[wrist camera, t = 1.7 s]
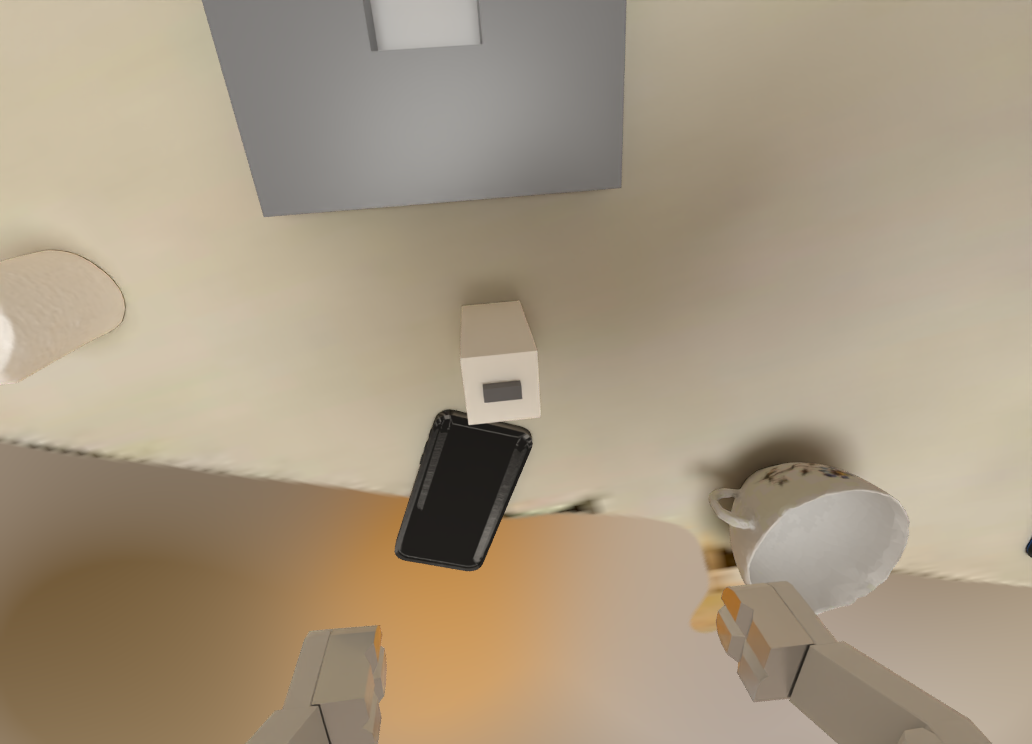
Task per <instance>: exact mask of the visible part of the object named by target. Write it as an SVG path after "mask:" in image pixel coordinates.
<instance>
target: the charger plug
mask: <svg viewBox="0 0 1032 744" xmlns="http://www.w3.org/2000/svg"><path fill="white" fill-rule="evenodd" d="M460 363H461V370H462V378H463V386H464V394H465V401H466V409H467V417H468V424H469V425H474V424H483V423H493V422H502V421H511V420H521V419H530V418H539V417H541V409H540V390H539V371H538V351H537V348H536V345H535V342H534V339H533V337H532V334H531V331H530V328H529V325H528V322H527V320H526V317H525V314H524V311H523V308H522V305H521V303H520V300H518V301H508V302H497V303H486V304H476V305H465V306H462V307H461V340H460Z"/></svg>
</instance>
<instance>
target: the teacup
mask: <svg viewBox="0 0 1032 744" xmlns="http://www.w3.org/2000/svg"><path fill="white" fill-rule="evenodd" d="M729 497H734V498H735V500H734V503H733V506H732V510H731V511H728V510H726V509H724V508H723V507H722V506H721V505H720V504H719V502H718V500H719V499H721V498H729ZM709 502H710V505H711V507H712V508H713V510H714V512H715V513H716V515H717V516H718V518H720V519H721V520H723V521H725V522H726V523H728V524H729V525H730V526H729V531H730V541H731V547H732V551H733V555H734V558H735V561H736V564H737V567H738V569H739V572H740V574H741V577H742V579H743V581H744V583H745V584H746V585H749V584H757V583H770V582H779V581H788V582H789V583H791V584H792V585H793V586H794V587H795V589H796V590H797V591H798V592H799V594H800V595H801V596H802V597H803V599H804V600H805V601H806V602H807V604H808V605H809V606H810V607H811V609H812V610H813V611H814V613H815V614H816V615H817V614H821V613H823V612H825V611H828V610H832V609H835V608H838V607H842V606H849V605H851V604H852V603H854V602H855V601H856V599H857V598H859V597H863V596H866V595H867V594H868V593H870V592H871V591H873V590H875V589H876V587H877V586H878V585H879V584H881V583H883V582H884V581H885V580H886V579H887V578H888V576H889V574H890V572H891V571H892V569H893V568H894V567H895V565H896V564H897V562H898V561H899V559H900V558H901V556H902V553H903V551H904V549H905V547H906V544H907V540H908V536H909V530H908V527H909V523H910V522H909V518H908V516H907V513H906V510H905V509H904V508H903V506H902V505H901V503H900V501H898V500H897V499H896V498H894V497H893V496H891V495H890V494H888V493H887V492H885V491H883V490H882V489H880V488H878V487H877V486H875V485H873V484H871V483H870V482H868V481H866V480H864V479H862V478H860V477H858V476H856V475H854V474H851V473H849V472H846V471H844V470H841V469H838V468H834V467H831V466H826V465H822V464H815V463H804V462H796V463H784V464H780V465H776V466H771V467H767V468H764V469H761V470H758V471H756V472H755V473H754V474H752V475H751V476H750V477H748V478H747V479H746V481H745V482H744V484H743V485H742V487H741V489H738V490H736V489H729V488H720V489H716V490H714V491H713V492H712V493H710V494H709Z"/></svg>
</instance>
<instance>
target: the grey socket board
mask: <svg viewBox="0 0 1032 744" xmlns="http://www.w3.org/2000/svg"><path fill="white" fill-rule="evenodd" d="M202 2H203V6H204V9H205V13H206V16H207V20H208V23H209V27H210V30H211V34H212V37H213V41H214V44H215V48H216V51H217V55H218V58H219V62H220V65H221V69H222V72H223V76H224V79H225V83H226V86H227V90H228V93H229V97H230V100H231V104H232V107H233V111H234V114H235V118H236V121H237V125H238V128H239V132H240V135H241V139H242V142H243V146H244V149H245V153H246V156H247V160H248V163H249V167H250V170H251V174H252V177H253V181H254V184H255V188H256V191H257V195H258V198H259V202H260V205H261V209H262V212H263V216H264V217H270V216H283V215H295V214H307V213H320V212H332V211H344V210H357V209H369V208H381V207H394V206H406V205H418V204H430V203H443V202H455V201H467V200H480V199H492V198H504V197H517V196H529V195H541V194H554V193H566V192H578V191H591V190H603V189H615V188H621V182H622V145H623V108H624V71H625V34H626V0H202Z"/></svg>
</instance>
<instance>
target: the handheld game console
mask: <svg viewBox="0 0 1032 744" xmlns="http://www.w3.org/2000/svg"><path fill="white" fill-rule="evenodd" d="M1027 553H1028V555H1029V556H1030V557H1032V539H1031V541H1030V543H1029V545H1028V547H1027Z"/></svg>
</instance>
